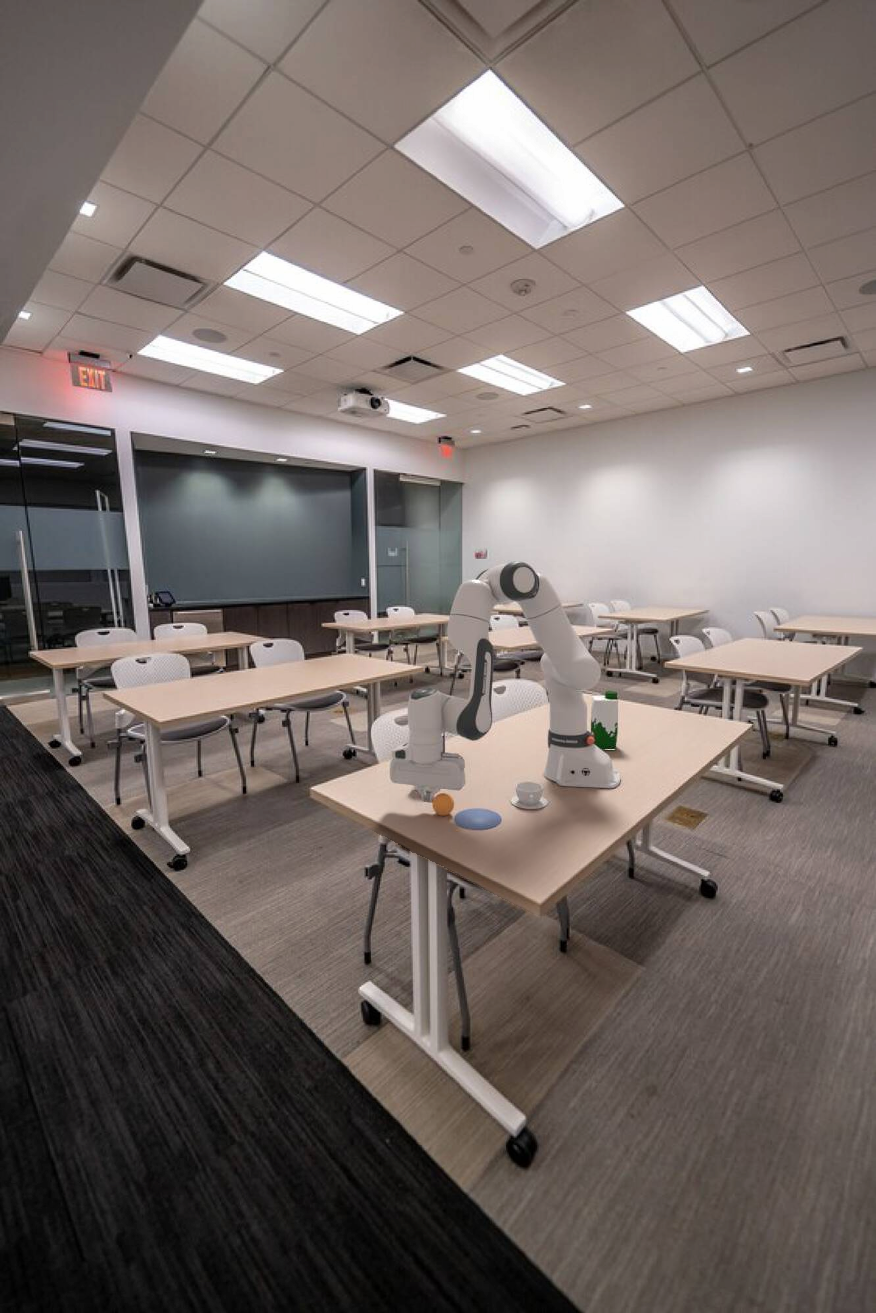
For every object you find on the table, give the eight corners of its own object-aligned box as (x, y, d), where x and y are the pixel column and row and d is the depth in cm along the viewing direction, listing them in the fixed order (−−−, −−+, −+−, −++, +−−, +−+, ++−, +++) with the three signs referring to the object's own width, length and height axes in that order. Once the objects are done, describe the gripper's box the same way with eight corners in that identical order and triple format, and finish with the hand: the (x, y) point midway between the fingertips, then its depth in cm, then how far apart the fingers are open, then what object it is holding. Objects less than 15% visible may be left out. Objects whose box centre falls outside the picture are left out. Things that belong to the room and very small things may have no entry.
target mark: (506, 812, 142) (506, 811, 142) (494, 832, 131) (494, 832, 130) (462, 806, 146) (462, 805, 146) (447, 825, 135) (447, 824, 135)
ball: (433, 802, 145) (451, 813, 144) (425, 811, 140) (444, 823, 139) (442, 785, 143) (460, 797, 142) (434, 794, 138) (453, 806, 137)
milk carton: (618, 751, 188) (619, 695, 186) (591, 750, 190) (592, 694, 187) (615, 744, 197) (616, 689, 194) (589, 743, 199) (590, 689, 196)
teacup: (509, 795, 153) (509, 779, 152) (544, 795, 153) (544, 779, 152) (512, 810, 143) (512, 793, 143) (550, 810, 143) (550, 793, 142)
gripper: (468, 750, 140) (469, 801, 142) (396, 744, 147) (398, 792, 149) (460, 758, 134) (461, 811, 136) (385, 751, 142) (388, 801, 144)
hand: (428, 801), depth 143 cm, fingers closed
